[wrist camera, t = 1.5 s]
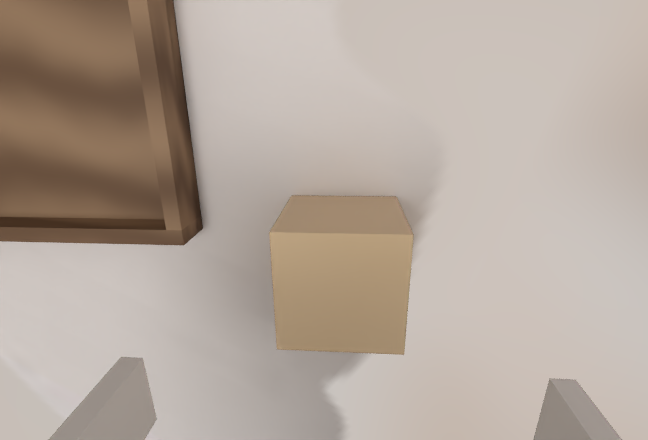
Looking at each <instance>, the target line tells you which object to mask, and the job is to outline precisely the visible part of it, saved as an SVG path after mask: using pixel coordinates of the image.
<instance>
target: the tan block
mask: <svg viewBox="0 0 648 440" xmlns="http://www.w3.org/2000/svg"><path fill="white" fill-rule="evenodd" d="M269 235H270V251H271V266H272V281H273V297H274V312H275V327H276V343H277V349H281V350H305V351H329V352H353V353H378V354H402V355H404V349H405V336H406V324H407V311H408V298H409V286H410V273H411V261H412V248H413V232H412V230H411V228H410V226H409V224H408V221H407V219H406V217H405V215H404V213H403V210H402V208H401V206H400V204H399V202H398V199H397V197H396V196H296V195H292V196H291V197H290V199H289V201H288V202H287V204H286V206H285V207H284V209H283V211H282V212H281V214H280V215H279V217H278V219H277V220H276V222H275V224H274V225H273V227H272V229H271V230H270V232H269Z"/></svg>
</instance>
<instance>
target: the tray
mask: <svg viewBox="0 0 648 440" xmlns="http://www.w3.org/2000/svg"><path fill="white" fill-rule="evenodd" d="M202 229H203V227H202V219H201V211H200V204H199V196H198V188H197V181H196V173H195V165H194V158H193V150H192V142H191V135H190V127H189V119H188V112H187V104H186V96H185V89H184V81H183V73H182V66H181V58H180V50H179V43H178V35H177V27H176V20H175V12H174V4H173V0H0V241H14V242H60V243H107V244H153V245H185V244H186V243H187V242H188V241H189V240H190V239H191V238H193V237H194V236H195V235H196V234H197V233H198V232H199V231H201V230H202Z"/></svg>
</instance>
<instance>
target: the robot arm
mask: <svg viewBox="0 0 648 440" xmlns="http://www.w3.org/2000/svg"><path fill="white" fill-rule="evenodd" d="M156 420H157V418H156V414H155V409H154V405H153V401H152V396H151V392H150V388H149V383H148V379H147V375H146V370H145V366H144V362H143V358H131V357H121V358H120V359H119V360H118V361H117V362H116V363H115V365H114V366H113V367H112V368H111V369H110V370H109V371H108V372H107V374H106V375H105V376H104V377H103V378H102V379H101V380H100V382H99V383H98V384H97V385H96V386H95V387H94V388H93V390H92V391H91V392H90V393H89V394H88V395H87V396H86V398H85V399H84V400H83V401H82V402H81V403H80V404H79V406H78V407H77V408H76V409H75V410H74V411H73V412H72V413H71V415H70V416H69V417H68V418H67V419H66V420H65V421H64V423H63V424H62V425H61V426H60V427H59V428H58V429H57V431H56V432H55V433H54V434H53V435H52V436H51V437H50V439H49V440H144V439H145V438H146V436H147V434H148V433H149V431H150V429H151V428H152V426H153V425H154V423H155V421H156ZM534 440H622V439H621V438H620V437H619V435H618V434H617V433H616V431H615V430H614V429H613V427H612V426H611V425H610V424H609V422H608V421H607V420H606V418H605V417H604V416H603V415H602V413H601V412H600V411H599V409H598V408H597V407H596V405H595V404H594V403H593V402H592V400H591V399H590V398H589V396H588V395H587V394H586V392H585V391H584V390H583V389H582V387H581V386H580V385H579V383H578V382H577V381H576V380H570V379H549V383H548V387H547V390H546V394H545V398H544V402H543V406H542V409H541V413H540V417H539V421H538V425H537V428H536V432H535V436H534Z"/></svg>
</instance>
